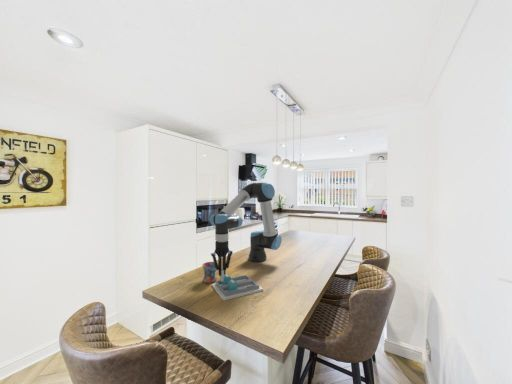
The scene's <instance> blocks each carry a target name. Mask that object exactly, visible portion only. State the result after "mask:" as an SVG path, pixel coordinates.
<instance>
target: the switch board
mask: <svg viewBox="0 0 512 384" xmlns="http://www.w3.org/2000/svg"><path fill="white" fill-rule="evenodd" d="M231 280H235V281H236V282H237V289H235V290H231V291H228V284H225V285H223V284H222V282H221V280H220V279H219V280H218V279H217V280H216V281H215V282H214V283H211V286H212V288H213V290H215V292H216V293H217V294H218V295H219V297H220V299H221V300H222V301H224V302H225V301H228V300H231V299H236V298H239V297H243V296H247V295H251V294H255V293H258V292H262V291H264V288H263V287H262V286H261V285H260V284H259V283H257V282H255V281H254V280H253V279H252V278H250V277H249V275H246V274H244V275H243V274H242V275H236V276H234V277H231Z"/></svg>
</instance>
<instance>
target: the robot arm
mask: <svg viewBox="0 0 512 384" xmlns="http://www.w3.org/2000/svg"><path fill="white" fill-rule="evenodd" d="M275 191H276V190H275V187H274V185H273V184H272V183H270V182H251V183H249V184H248V185H246V186H244V187H243V188H242V189H241V190H239V192H238V194H237V195H236V196H235V197H234V198H233V199H232V200H230V202H228V203H227V204H226V205H225V206H224V207H223V208H222V209H221V210H220V211H218V213H214V214H212V215H211V216H210V218H209V223H210V225H212V226H215V229H214V230H215V231H214V233H215V237H214V239H215V242H214V244H215V249H214V252H211V253H210V255H211V257H212V262H214V265H215V268H216V269H217V270H216V271H218V276H219V280H221V282H223V281H224V275H225V274H226V270H227V269H228V268H229V267H230V263H231V259H232V258H231V257H232V255H233V250H230V248H229V230H231V229H237V228H240V227H241V226H242V224H243V218H242V217H241V216H240V215H236V214H235V212H237V211H238V210H239V208H241V207H242V206H243V205H244V204H245V202H248V201H250V200H251V199H256V200H257V202H258V203H259V206H260V212H261V219H262V224H263V230H258V231H257V230H256V231H252V232H250V238H249V239H250V242H249V243H250V251H249V253H248V260H249V261H251V262H254V263H255V262H256V263H261V262H265V261H267V254H266V250H265V249H268V250H272V251H277V250H279V249H280V247H281V245H282V242H283V241H282V235H280V234H278V231H277V230H276V226H275V220H274V219H275V218H274V213H273V212H274V211H273V206H272V201H273V198H274V197H275V194H276V192H275ZM233 214H235V215H233ZM216 256H217V257H216ZM217 259H218V261H217Z"/></svg>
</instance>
